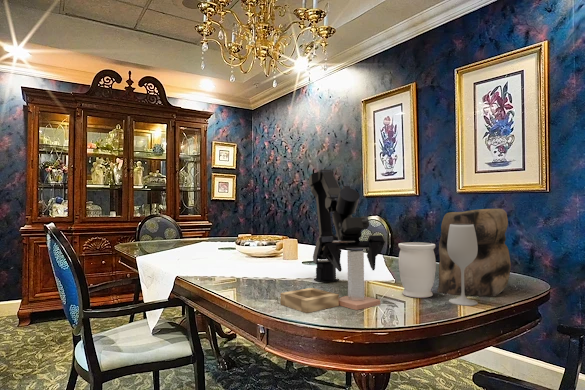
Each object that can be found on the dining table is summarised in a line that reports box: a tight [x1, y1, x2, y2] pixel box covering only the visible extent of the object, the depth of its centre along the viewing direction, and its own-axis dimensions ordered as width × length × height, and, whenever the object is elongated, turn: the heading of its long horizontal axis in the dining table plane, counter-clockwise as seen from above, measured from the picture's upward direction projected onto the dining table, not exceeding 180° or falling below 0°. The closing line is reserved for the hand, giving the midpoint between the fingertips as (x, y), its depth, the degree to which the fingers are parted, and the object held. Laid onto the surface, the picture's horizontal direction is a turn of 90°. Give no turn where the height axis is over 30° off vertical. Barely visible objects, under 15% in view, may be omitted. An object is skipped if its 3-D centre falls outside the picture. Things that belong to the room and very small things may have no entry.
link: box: [347, 249, 365, 301], centre depth 106 cm, size 3×3×13 cm
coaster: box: [339, 295, 381, 311], centre depth 106 cm, size 9×9×1 cm
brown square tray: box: [280, 287, 340, 314], centre depth 105 cm, size 11×11×3 cm
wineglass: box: [447, 224, 479, 307], centre depth 107 cm, size 8×8×21 cm
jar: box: [398, 241, 437, 299], centre depth 116 cm, size 11×10×15 cm
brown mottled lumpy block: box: [436, 208, 512, 297], centre depth 122 cm, size 20×20×25 cm
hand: (357, 270), depth 105 cm, fingers open, 9 cm apart
